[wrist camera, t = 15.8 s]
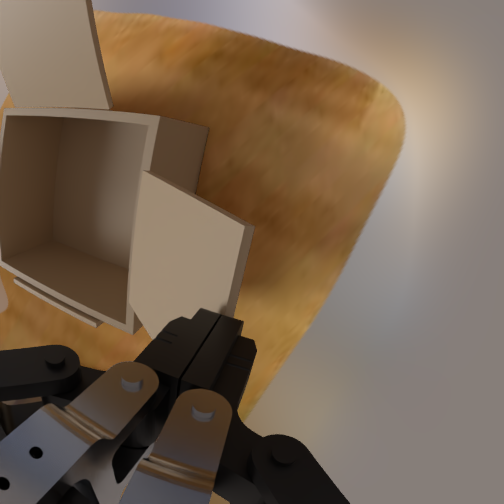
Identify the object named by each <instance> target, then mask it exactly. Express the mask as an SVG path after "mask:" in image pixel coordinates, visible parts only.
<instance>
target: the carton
mask: <svg viewBox="0 0 504 504" xmlns="http://www.w3.org/2000/svg"><path fill="white" fill-rule="evenodd" d="M208 131H209V127H205V126H201V125H197V124H193V123H189V122H185V121H180V120H176V119H172V118H167V117H163V116H156V115H148V114H139V113H130V112H119V111H107V110H92V109H73V108H4V113H3V120H2V126H1V134H0V266H2V267H3V268H5V269H6V270H8V271H10V272H11V273H13V274H15V275H16V276H18V277H16V278H14V283H16V284H17V285H19V286H21V287H22V288H24V289H26V290H27V291H29V292H31V293H32V294H34V295H36V296H37V297H39V298H41V299H43V300H44V301H46V302H48V303H50V304H51V305H53V306H55V307H57V308H59V309H61V310H62V311H64V312H66V313H68V314H70V315H72V316H74V317H76V318H78V319H80V320H81V321H83V322H85V323H87V324H89V325H91V326H93V327H95V328H97V327H98V326H99V325H101V324H102V323H103V322H105V323H107V324H110V325H112V326H114V327H116V328H118V329H121V330H123V331H125V332H127V333H130V334H132V335H134V334H135V333H136V332H137V331H138V330H139V329H140V328H141V327H142V326H143V324H142V323H141V321H140V320H139V318H138V316H137V315H136V313H135V312H134V310H133V308H132V307H131V305H130V304H129V291H130V276H131V263H132V252H133V242H134V232H135V223H136V215H137V207H138V200H139V193H140V186H141V180H142V174H143V170H146V171H151V172H153V173H155V174H157V175H159V176H161V177H163V178H165V179H167V180H169V181H171V182H173V183H174V184H176V185H178V186H180V187H182V188H184V189H186V190H188V191H190V192H192V193H194V194H196V188H197V183H198V178H199V173H200V168H201V164H202V159H203V154H204V150H205V145H206V140H207V136H208Z"/></svg>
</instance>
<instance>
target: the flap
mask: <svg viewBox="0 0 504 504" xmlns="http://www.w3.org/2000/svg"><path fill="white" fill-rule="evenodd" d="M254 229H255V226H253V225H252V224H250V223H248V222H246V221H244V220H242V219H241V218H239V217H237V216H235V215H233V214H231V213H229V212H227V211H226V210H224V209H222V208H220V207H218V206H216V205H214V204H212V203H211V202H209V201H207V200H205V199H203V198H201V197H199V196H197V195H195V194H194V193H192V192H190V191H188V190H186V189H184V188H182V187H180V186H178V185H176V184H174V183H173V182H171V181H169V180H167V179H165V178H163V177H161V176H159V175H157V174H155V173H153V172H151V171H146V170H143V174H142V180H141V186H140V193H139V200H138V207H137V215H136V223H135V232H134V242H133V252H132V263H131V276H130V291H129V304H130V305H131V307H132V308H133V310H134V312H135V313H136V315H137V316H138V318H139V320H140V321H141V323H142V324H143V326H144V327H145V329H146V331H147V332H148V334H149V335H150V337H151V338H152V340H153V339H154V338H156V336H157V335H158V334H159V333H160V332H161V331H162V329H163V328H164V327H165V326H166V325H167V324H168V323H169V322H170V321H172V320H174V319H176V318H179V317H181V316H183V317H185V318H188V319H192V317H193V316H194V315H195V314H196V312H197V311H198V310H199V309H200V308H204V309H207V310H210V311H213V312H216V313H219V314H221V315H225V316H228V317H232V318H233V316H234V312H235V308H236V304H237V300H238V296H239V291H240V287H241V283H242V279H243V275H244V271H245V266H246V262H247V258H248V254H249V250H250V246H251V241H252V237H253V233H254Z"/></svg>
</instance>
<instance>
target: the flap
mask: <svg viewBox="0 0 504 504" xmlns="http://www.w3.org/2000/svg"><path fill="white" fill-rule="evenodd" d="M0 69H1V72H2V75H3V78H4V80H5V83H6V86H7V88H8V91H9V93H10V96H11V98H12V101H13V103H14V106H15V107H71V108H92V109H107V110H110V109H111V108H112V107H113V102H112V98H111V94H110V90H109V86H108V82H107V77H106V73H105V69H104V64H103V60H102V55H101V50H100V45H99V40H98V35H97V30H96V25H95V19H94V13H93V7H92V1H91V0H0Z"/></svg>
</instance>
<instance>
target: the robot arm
mask: <svg viewBox="0 0 504 504" xmlns="http://www.w3.org/2000/svg"><path fill="white" fill-rule="evenodd" d="M243 324H244V321H241V320H238V319H235V318H232V317H228V316H225V315H221V314H219V313H216V312H213V311H210V310H207V309H204V308H200V309H199V310H198V311H197V312H196V314H195V315H194V316H193V317H192V319H188V318H185V317H183V316H181V317H179V318H176V319H174V320H172V321H170V322H169V323H168V324H167V325H166V326H165V327H164V328H163V329H162V331H161V332H160V333H159V334H158V335H157V336H156V338H154V339H153V340H152V341H151V343H150V344H149V345H148V346H147V347H146V348H145V349H144V350H143V351H142V353H141V354H140V355H139V356H138V357H137V358H136V359H135V360H134V361H133V362H130V361H129V362H121V363H118V364H116V365H114V366H112V367H111V368H110V369H109V370H107V371H100V370H96V369H91V368H87V367H83V366H80V361H79V357H78V355H77V354H76V352H74V351H73V350H72V349H70V348H68V347H66V346H62V345H47V346H39V347H31V348H22V349H13V350H3V351H0V504H209V501H210V498H211V494H212V491H213V492H215V493H216V494H218V495H219V496H221V497H222V498H224V499H226V500H227V501H229V502H230V504H350V503H349V501H348V500H347V499H346V498H345V497H344V495H343V494H342V493H341V492H340V490H339V489H338V488H337V487H336V485H335V484H334V483H333V481H332V480H331V479H330V478H329V476H328V475H327V474H326V472H325V471H324V470H323V469H322V467H321V466H320V465H319V463H318V462H317V461H316V459H315V458H314V457H313V455H312V454H311V453H310V451H309V450H308V449H307V447H306V446H305V445H304V444H302V443H301V442H300V441H298V440H297V439H295V438H293V437H289V436H286V435H279V434H275V435H268V436H266V437H262V436H260V435H258V434H256V433H255V432H253V431H251V430H250V429H249V428H247V427H246V426H245V425H244V424H243V422H242V421H241V419H240V418H239V415H238V412H237V410H238V407H239V404H240V401H241V399H242V396H243V393H244V390H245V388H246V385H247V382H248V379H249V375H250V372H251V369H252V366H253V362H254V359H255V356H256V353H257V349H256V345H255V342H254V340H252V339H249V338H246V337H243V336H241V332H242V328H243ZM159 434H160V435H159ZM158 436H159V437H158ZM157 438H158V439H157ZM156 439H157V441H156ZM150 453H151V454H150ZM148 456H149V457H148ZM147 457H148V458H147ZM127 484H128V485H127ZM126 485H127V487H126ZM125 487H126V490H125V492H124V494H123V496H122V498H121V500H120V497H121V494H122V491H123V490H124V488H125ZM119 501H120V502H119Z"/></svg>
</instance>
